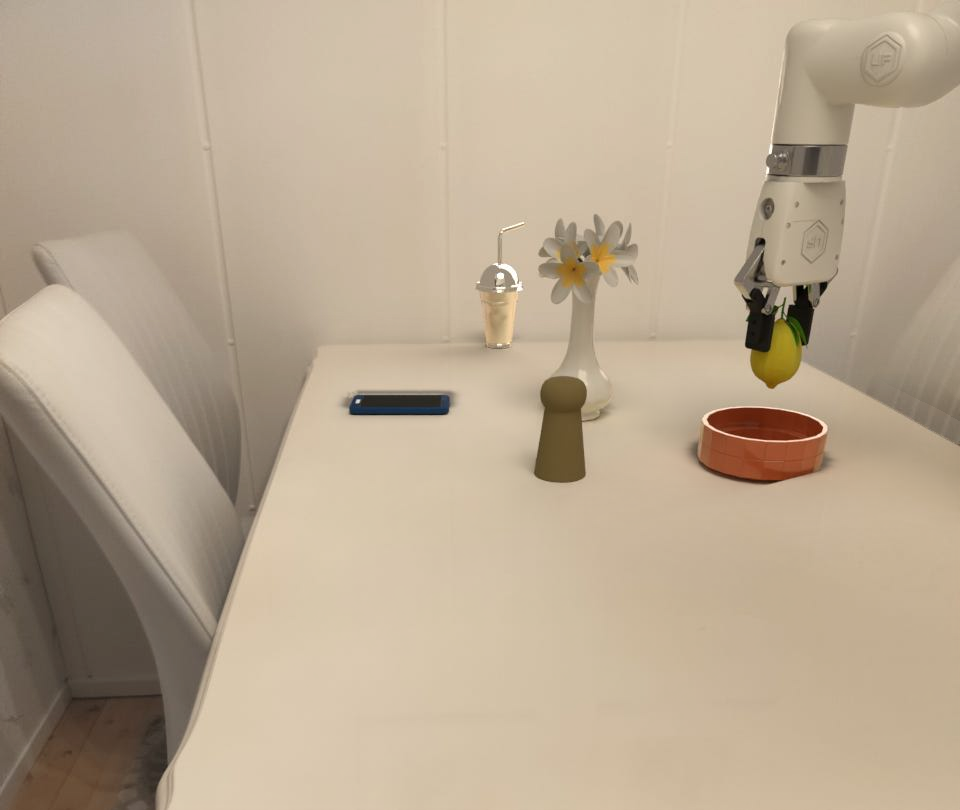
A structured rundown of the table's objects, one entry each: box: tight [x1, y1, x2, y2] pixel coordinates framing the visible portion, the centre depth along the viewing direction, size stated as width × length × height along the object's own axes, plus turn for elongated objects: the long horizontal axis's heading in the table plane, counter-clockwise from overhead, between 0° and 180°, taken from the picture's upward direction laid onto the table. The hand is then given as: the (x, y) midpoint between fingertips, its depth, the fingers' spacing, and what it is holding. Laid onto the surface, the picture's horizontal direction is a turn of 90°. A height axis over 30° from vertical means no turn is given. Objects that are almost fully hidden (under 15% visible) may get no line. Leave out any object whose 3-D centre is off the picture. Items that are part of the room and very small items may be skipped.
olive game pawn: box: [533, 376, 587, 483], centre depth 104 cm, size 6×6×11 cm
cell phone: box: [348, 394, 451, 415], centre depth 130 cm, size 7×14×1 cm, turn 90°
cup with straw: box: [474, 222, 526, 349], centre depth 160 cm, size 8×9×20 cm
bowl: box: [696, 405, 829, 482], centre depth 108 cm, size 14×14×5 cm
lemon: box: [745, 296, 809, 390], centre depth 103 cm, size 7×6×10 cm
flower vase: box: [537, 213, 639, 422], centre depth 120 cm, size 13×18×25 cm
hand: (776, 344), depth 103 cm, fingers closed on lemon, 5 cm apart
